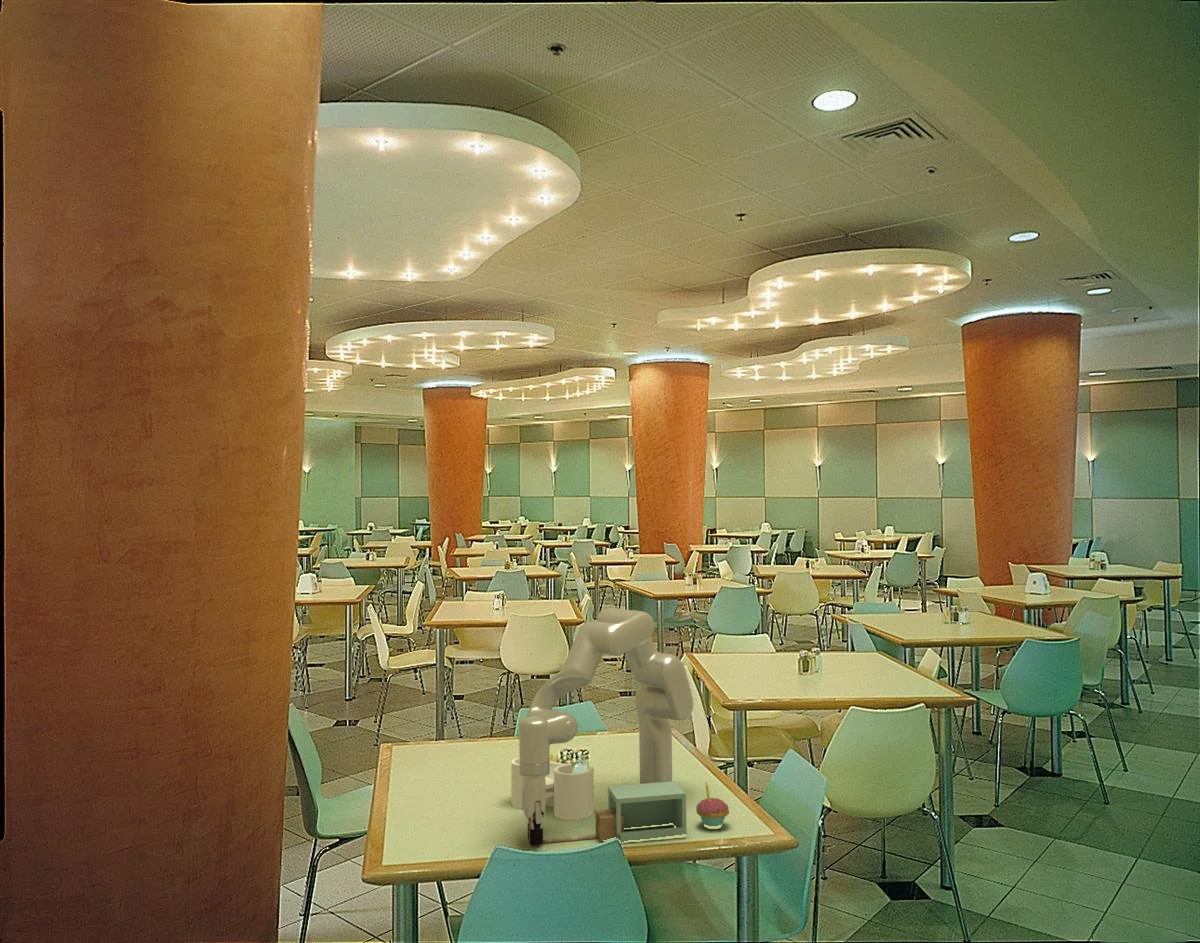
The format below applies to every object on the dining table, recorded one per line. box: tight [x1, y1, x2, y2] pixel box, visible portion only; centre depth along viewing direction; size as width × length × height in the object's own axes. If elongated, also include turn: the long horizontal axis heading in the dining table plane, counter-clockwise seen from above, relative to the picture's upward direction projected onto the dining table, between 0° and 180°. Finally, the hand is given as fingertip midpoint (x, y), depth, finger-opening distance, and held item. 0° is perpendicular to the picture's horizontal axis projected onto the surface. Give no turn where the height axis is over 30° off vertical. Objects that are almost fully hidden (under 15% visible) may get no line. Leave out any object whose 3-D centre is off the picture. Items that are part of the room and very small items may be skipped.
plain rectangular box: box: [607, 780, 688, 843], centre depth 231 cm, size 10×18×11 cm, turn 102°
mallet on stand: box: [528, 808, 625, 847], centre depth 227 cm, size 6×24×7 cm, turn 102°
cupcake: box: [695, 781, 730, 826], centre depth 236 cm, size 9×8×12 cm
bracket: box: [510, 757, 595, 821], centre depth 250 cm, size 25×10×12 cm, turn 59°
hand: (535, 841), depth 225 cm, fingers closed on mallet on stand, 3 cm apart
